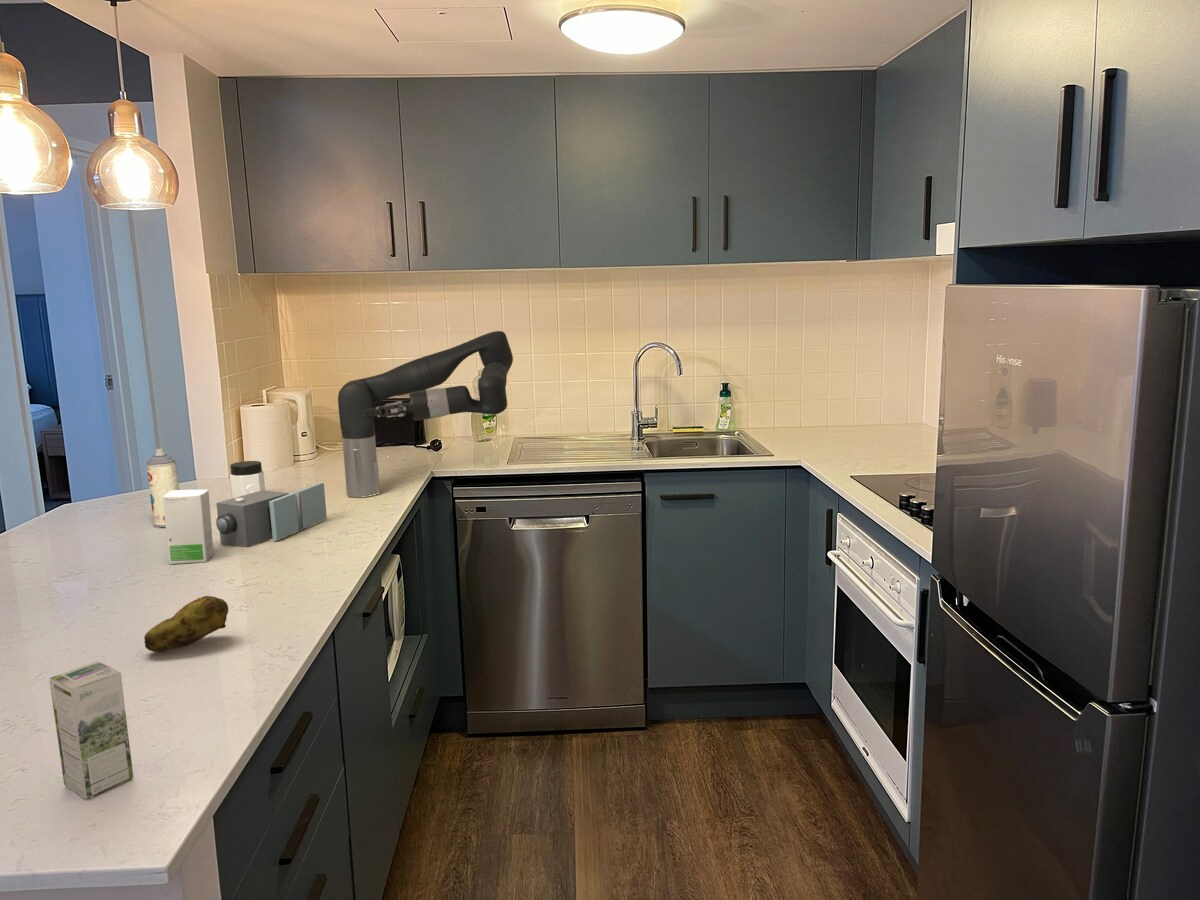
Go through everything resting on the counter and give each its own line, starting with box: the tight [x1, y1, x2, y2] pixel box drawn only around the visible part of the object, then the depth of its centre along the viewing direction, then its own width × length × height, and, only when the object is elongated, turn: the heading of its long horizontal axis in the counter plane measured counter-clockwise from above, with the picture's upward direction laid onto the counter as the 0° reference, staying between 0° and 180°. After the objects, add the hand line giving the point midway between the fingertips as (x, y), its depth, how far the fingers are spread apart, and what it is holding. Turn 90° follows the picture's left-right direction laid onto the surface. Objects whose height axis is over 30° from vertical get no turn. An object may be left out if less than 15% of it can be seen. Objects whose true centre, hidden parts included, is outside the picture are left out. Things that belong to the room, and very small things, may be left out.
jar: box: [229, 460, 266, 499], centre depth 246 cm, size 9×8×12 cm
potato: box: [143, 595, 229, 653], centre depth 148 cm, size 8×13×8 cm, turn 105°
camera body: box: [215, 489, 290, 548], centre depth 212 cm, size 16×9×11 cm, turn 153°
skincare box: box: [163, 489, 214, 565], centre depth 196 cm, size 8×7×16 cm
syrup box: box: [48, 661, 134, 800], centre depth 106 cm, size 6×6×14 cm
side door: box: [269, 482, 328, 541], centre depth 218 cm, size 20×1×10 cm, turn 163°
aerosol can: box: [146, 448, 180, 528], centre depth 227 cm, size 7×7×20 cm
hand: (361, 414), depth 224 cm, fingers closed
